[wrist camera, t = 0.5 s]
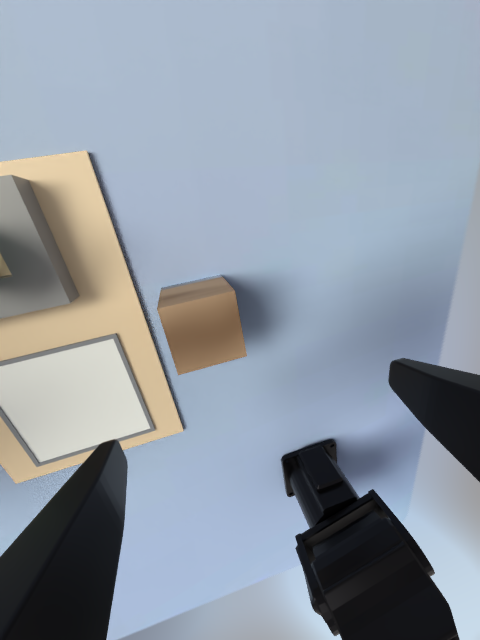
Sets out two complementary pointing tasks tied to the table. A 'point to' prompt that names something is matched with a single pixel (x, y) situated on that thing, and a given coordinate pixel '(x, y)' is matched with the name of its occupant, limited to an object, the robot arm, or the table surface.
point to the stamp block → (201, 323)
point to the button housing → (29, 254)
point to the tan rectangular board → (78, 339)
